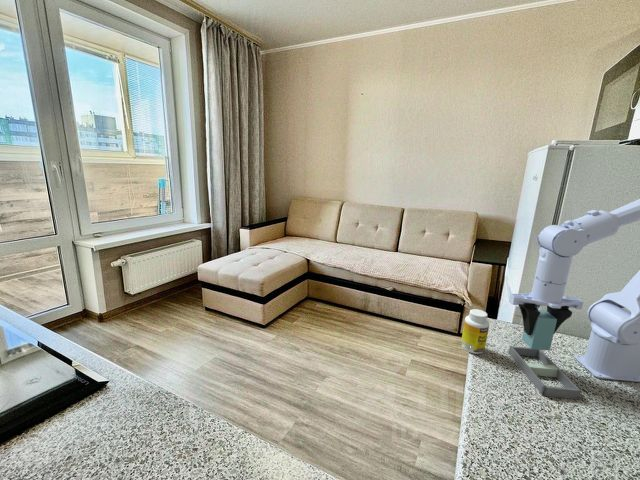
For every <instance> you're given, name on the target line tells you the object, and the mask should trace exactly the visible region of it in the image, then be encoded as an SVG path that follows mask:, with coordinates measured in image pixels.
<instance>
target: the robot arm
mask: <svg viewBox="0 0 640 480" xmlns="http://www.w3.org/2000/svg"><path fill="white" fill-rule="evenodd" d="M586 213H587V214H585V215H583V216H580V217H578V218H575V219H571V220H570V219H569V220H568V219H567V220H565V221H564V222H563V223H562V224H561V225H560V224H559V225H558V224H557V225H556V224H551V225H548V226H546V227H544V228H543V229H542V230H541V231H540V233H539V234H538V235H536V238H535V239H536V240H535V241H536V243H537V245H538V247H539V250H538V254H539V255H538V259H537V263H536V269H535V274H534V278H533V283H532V287H531V292H523V293H522V292H521V293H509V298H508V302H509V303H510V304H511V305H513V306H518V307H519V310H520V313H521V317H522V323H523V332H524V331H525V332H526V333H527V334H528V335H532V333H533V329H534V325H535V322H536V320H537V318H538V316H539V315H540V312H539V311H538V310H539V309H537V306H542V307H546V311H547V312H549V313H550V314H551V315H553V316H554V317H555V318H556V319H557V322H556V326H555V330H554V335H555V334H556V332H557V330H558V329H559V328H560V327H561V325H562V324H563V323H564V322H566V321H567V320H568V319H570V318H571V317H572V314H573V312H572V310H570V308H573V309H576V310H582V309H583V306H584V301H583V300H582V299H580V298H579V297H571V296H566V295H565V291H566V285H567V281H568V278H569V273H570V270H571V264H572V260H573V257H574V256H576V255H578V254H579V253H580V252H581V251H582V250H583V249H584V247H587V246H588V245H589V244H593V243H595V242H598V241H601V240H603V239H606V238H609V237H611V236H614V235H616V234H617V233H618V231H619V228H620V227H623V226H626V225H629V224H632V223H636V222H638V221H640V198H638V199H636V200H634V201H632V202H629V203H627V204H624V205H623V206H620V207H618V208H615V209H614V210H611V211H606V210H603V209H601V210H595V209H591V210H589V211H587V212H586ZM564 295H565V296H564ZM626 309H627V310H629V311H630V312H629V311H627V310H626ZM586 315H587V319H588V320H589V321H590V326H589V327H591V331H590V335H589V339H588V342H587V345H586V350H585V353H584V355H579V354H578V355H577V354H574V355H573V357H574V359H576V360H577V361H578V362H579V363H580V364H581V365H582V366H583V367H584V368H586V369H587V370H588V371H589V372H590V373H591V374H592V375H593V376H594V377H596V378H597V379H606V380H615V381H626V382H637V383H640V269H639V270H638V271H637V272H636V273H635V274H634V275H633V276H632V278H631V279H630V280H629V281H628V282H627V283H626V285H625V286H624V287H623V288H622V289H621V290H620V291H615V292H609V293H606V294H604V295H603V297H602V298H600V299H599V300H597V301H595V302H594V303H592V304H591V305H590V306H589V307H588V309H587V312H586Z"/></svg>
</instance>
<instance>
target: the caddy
mask: <svg viewBox="0 0 640 480" xmlns="http://www.w3.org/2000/svg"><path fill="white" fill-rule="evenodd" d="M508 354H509V355H510V357H511V358H512V359H513V362H515V363H516V364H517V365H518V367H519V368H520V369H521V371H522V372H523V373H524V374H525V376H526V377H527V378H528V379H529V381H530V382H531V383H532V384H533V386H534V387H535V388H536V389H537V391H538V392H539V393H540V394H541V396H543V397H553V398H566V399H572V400H573V399H574V400H575V399H576V400H579V399H580V396H581V393H582V390H581V389H580V388H579V387H578V386H577V385H576V384H575V383H574V382H573V381H572V380H571V379H570V378H569V377H568V376H567V375H566V374H565V373H564V372H563V370H561V369H560V368H559V366H558V365H556V364H555V363H554V362H553V361H552V360H551V359H550V357H548V355H546V353H545V352H543V350H537V349H531V348H530V347H524V346H514V345H513V346H511V345H510V346H509V349H508ZM522 356H523V357H536V358H537V359H539V361H540V362H541V363H533V362H531V363H530V362H526V361H525V360H524V358H522ZM539 376H541V377H542V376H543V377H547V378H548V377H550V378H556V379H557V380H558V381H559V382H560V383H561V384H562V385H563V387H562V386H561V387H560V386H549V385H545V383H544V382H543V381H542V380H541V379H540V378H539Z"/></svg>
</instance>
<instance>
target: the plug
mask: <svg viewBox="0 0 640 480" xmlns="http://www.w3.org/2000/svg"><path fill="white" fill-rule="evenodd" d="M537 310H538V311H539V312H540V315H539V316H538V318H537V320H536V322H535V325H534V329H533V333H532V335H528V334H527V333H526V332H525V331H524V330H523V334H522V337H521V338H522V339H521V340H522V341H523V342H524V343H525V344H526V345H527V347H528V348H531V349H537V350H541V351H550V350H551V348H552V347H551V346H552V341H553V337H554V335H555V334H554V330H555V326H556V322H557V319H556V318H555V317H554V316H553V315H551V314H550V313H549V312H547V310H541V309H537Z"/></svg>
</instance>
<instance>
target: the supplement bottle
mask: <svg viewBox="0 0 640 480" xmlns="http://www.w3.org/2000/svg"><path fill="white" fill-rule="evenodd" d="M489 329H490V322H489V321H488V313H487V312H486V311H484V310H482V309H477V308H474V309H470V310H469V314H468V315H466V317H465V318H464V323H463V329H462V335H461V339H460V340H461V341H460V345H461V347H462V349H463V350H465V351H466V352H469V353H470V354H475V355H479V354H483V353H484V352H485V349H486V344H487V339H488V334H489ZM470 346H471V348H470Z"/></svg>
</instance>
